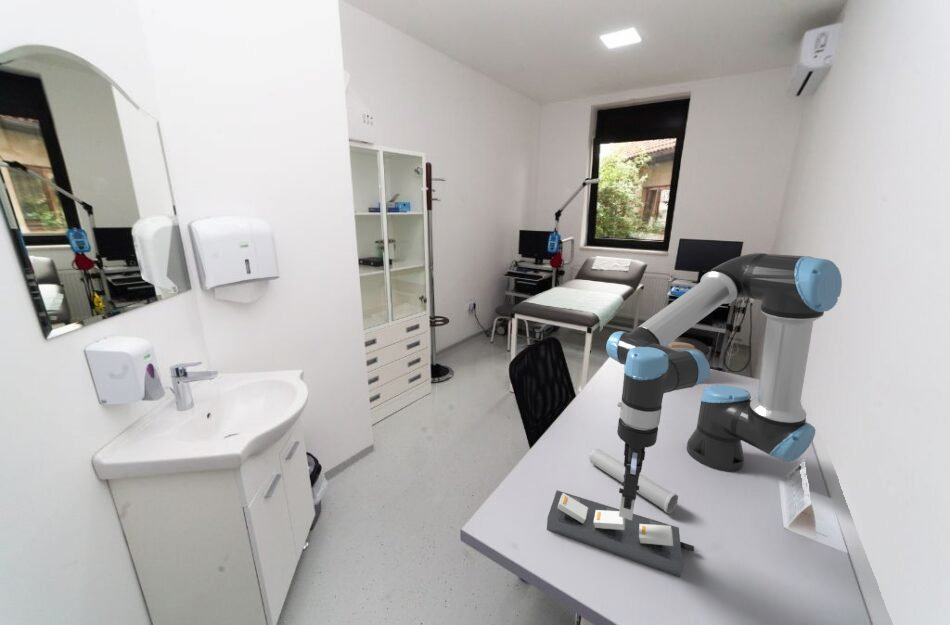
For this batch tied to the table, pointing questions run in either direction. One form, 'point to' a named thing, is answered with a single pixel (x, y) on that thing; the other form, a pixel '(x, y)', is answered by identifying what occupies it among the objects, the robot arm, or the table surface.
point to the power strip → (618, 536)
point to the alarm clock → (682, 347)
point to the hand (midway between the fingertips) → (625, 516)
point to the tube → (646, 486)
